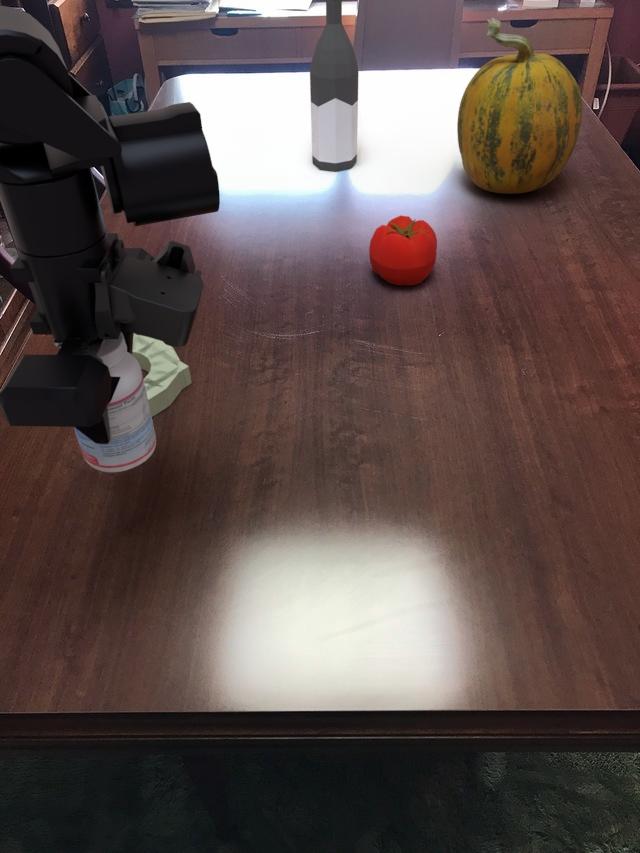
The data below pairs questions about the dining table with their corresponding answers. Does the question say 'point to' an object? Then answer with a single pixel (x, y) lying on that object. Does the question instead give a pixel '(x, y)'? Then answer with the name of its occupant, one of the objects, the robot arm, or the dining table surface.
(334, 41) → the wine bottle
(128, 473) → the dining table surface
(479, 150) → the pumpkin
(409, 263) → the tomato
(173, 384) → the socket pad
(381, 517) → the dining table surface
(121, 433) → the pill bottle
